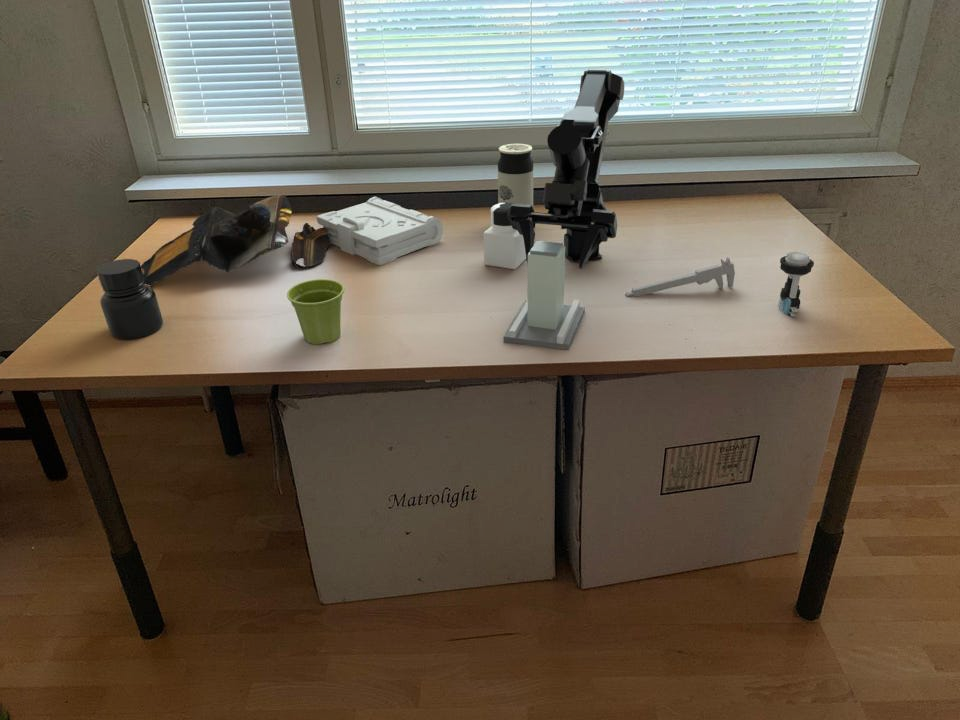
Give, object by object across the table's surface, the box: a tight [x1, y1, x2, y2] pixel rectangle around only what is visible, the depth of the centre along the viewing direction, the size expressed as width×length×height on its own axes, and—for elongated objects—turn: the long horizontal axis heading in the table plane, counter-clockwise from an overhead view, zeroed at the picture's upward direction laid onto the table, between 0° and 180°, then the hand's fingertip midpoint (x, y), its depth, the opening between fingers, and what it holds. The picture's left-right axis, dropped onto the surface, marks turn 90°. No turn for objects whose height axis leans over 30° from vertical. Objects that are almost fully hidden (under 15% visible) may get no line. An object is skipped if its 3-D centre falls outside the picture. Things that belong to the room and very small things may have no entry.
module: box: [527, 240, 566, 330], centre depth 119 cm, size 5×5×14 cm
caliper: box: [625, 257, 736, 297], centre depth 132 cm, size 20×1×6 cm, turn 97°
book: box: [316, 196, 444, 266], centre depth 161 cm, size 19×28×8 cm
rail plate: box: [503, 299, 586, 351], centre depth 122 cm, size 14×11×2 cm
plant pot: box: [286, 278, 345, 345], centre depth 120 cm, size 9×9×9 cm
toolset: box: [140, 194, 331, 288], centre depth 152 cm, size 40×20×27 cm
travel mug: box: [497, 143, 534, 208], centre depth 162 cm, size 8×8×18 cm
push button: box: [777, 251, 815, 317], centre depth 123 cm, size 7×5×10 cm
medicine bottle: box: [482, 203, 527, 270], centre depth 145 cm, size 7×7×12 cm
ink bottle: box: [96, 258, 164, 340], centre depth 124 cm, size 10×9×12 cm
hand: (554, 265), depth 123 cm, fingers open, 9 cm apart
